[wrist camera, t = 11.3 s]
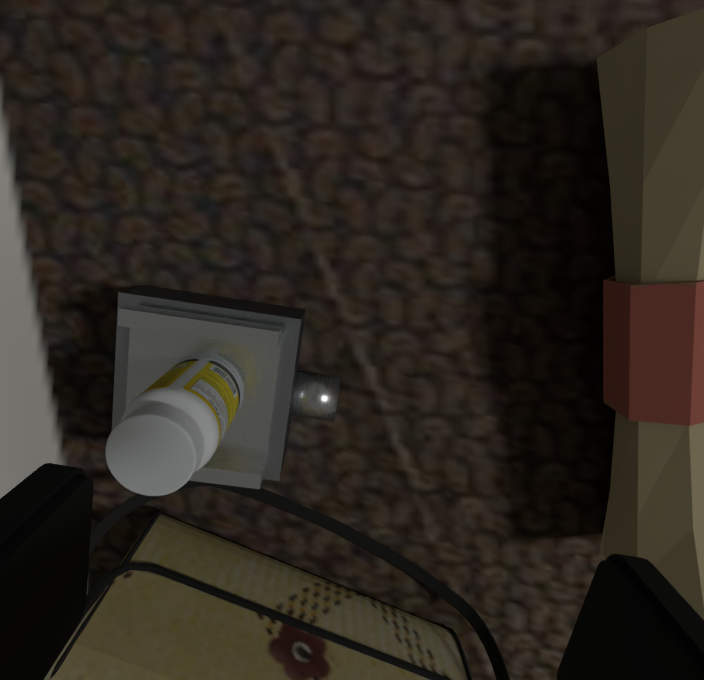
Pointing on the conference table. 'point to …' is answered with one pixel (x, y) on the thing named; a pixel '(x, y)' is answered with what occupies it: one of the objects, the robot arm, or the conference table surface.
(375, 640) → the beige handbag
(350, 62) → the conference table surface
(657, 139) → the scroll
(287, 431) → the grey drawer with knob
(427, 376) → the conference table surface
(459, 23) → the conference table surface
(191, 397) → the supplement bottle
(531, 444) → the conference table surface
